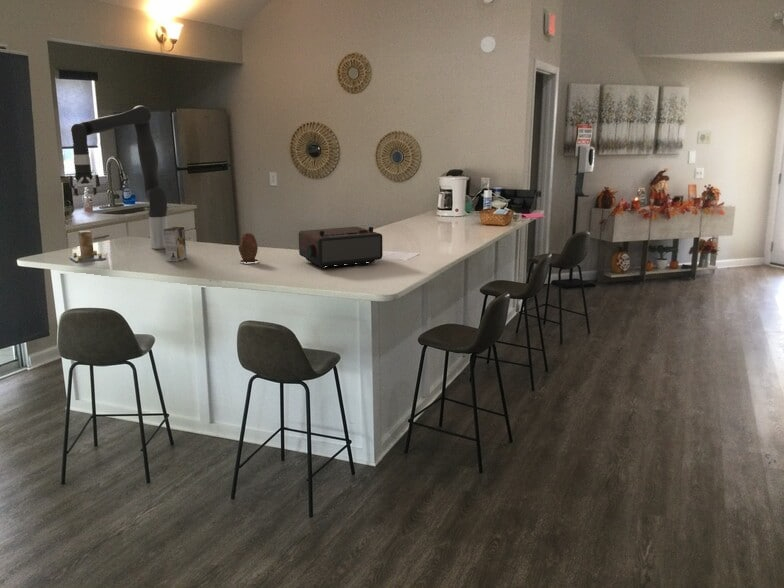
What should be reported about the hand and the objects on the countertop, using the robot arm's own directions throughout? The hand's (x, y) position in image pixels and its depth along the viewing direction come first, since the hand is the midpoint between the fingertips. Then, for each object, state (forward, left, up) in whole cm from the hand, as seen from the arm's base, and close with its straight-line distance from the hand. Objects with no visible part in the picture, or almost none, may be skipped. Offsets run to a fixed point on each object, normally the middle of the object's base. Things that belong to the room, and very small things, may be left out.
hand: (85, 195), depth 351 cm
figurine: (-55, +74, -30) cm, 97 cm away
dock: (+6, +17, -30) cm, 35 cm away
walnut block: (+6, +17, -29) cm, 34 cm away
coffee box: (-29, +46, -30) cm, 62 cm away
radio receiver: (-89, +102, -30) cm, 139 cm away
